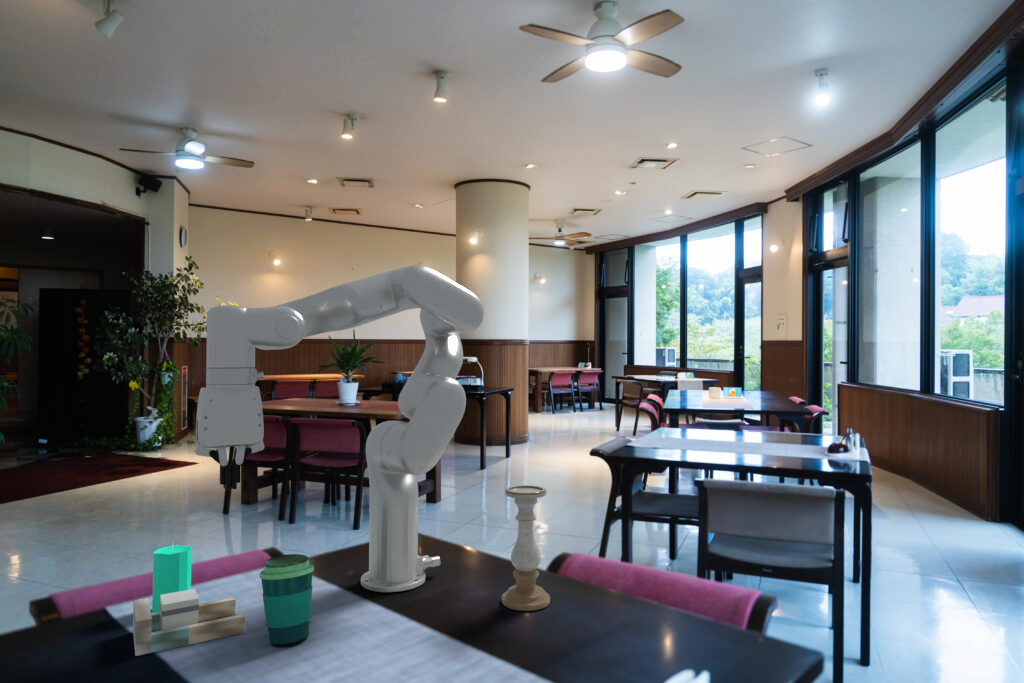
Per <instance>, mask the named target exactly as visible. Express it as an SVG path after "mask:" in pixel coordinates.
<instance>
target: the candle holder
mask: <svg viewBox="0 0 1024 683" xmlns="http://www.w3.org/2000/svg"><path fill="white" fill-rule="evenodd" d="M547 492H548V491H547V488H546V487H543V486H538V485H529V484H528V485H526V484H523V485H520V484H519V485H514V486H509V487H506V488H505V491H504V495H505V496H507V497H509V498H513V500H514V501H513V502H514V504H516V506H517V508H518V512H517V514H516V515H515V517H514V519H515V520H516V521H517V523H518V524H517V525H518V526H517V537H516V541H515V543H514V546H513V548H512V551H511V554H510V561H511V564H512V565H513V567H514V568H515V569H514V570H513V571H512V576H513V577H514V579H515V581H516V582H515V584H514V585H511V586H509V588H508V589H507V591H505V592H503V594H502V596H501V603H502V605H503V606H505V607H506V608H508V609H510V610H515V611H520V612H521V611H524V612H530V611H532V612H533V611H538V610H542V609H544V608H547V607H548V606H549V605H550V603H551V596H550V594H549V593H548V592H547V591H545V590H544V588H543V587H542V586H540V585H537V584H536V581H537V578H538V577H539V575H540V572H539V570H537V568H538V566H539V565H540V564H541V560H542V556H541V552H540V548H539V547H538V545H537V541H536V539H535V532H534V531H535V530H534V522H535V520H537V516H536V514H535V513H534V508H535V506H536V504H537V503H538V499H539V498H543V497H545V496H547V494H548V493H547Z"/></svg>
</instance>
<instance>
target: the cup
mask: <svg viewBox="0 0 1024 683" xmlns="http://www.w3.org/2000/svg"><path fill="white" fill-rule="evenodd" d="M263 567H264V568H263V570H261V571H260V572H259V579H261V585H262V602H263V608H264V617H265V623H266V624H265V625H266V628H267V635H268V642H269V643H270V645H271V646H273V647H276V648H288V647H289V648H290V647H294V646H297V645H300V644H303V643H304V641H306V640H307V639H308V636H309V631H310V620H311V617H312V616H311V615H312V613H311V612H312V601H313V600H312V598H313V584H312V583H313V572H314V571H315V566H314V564H312V563H310V559H309V557H308V556H307V555H304V554H298V553H295V554H282V555H277V556H273V557H270V558H269V559H267V560H266V561H265V563H264V566H263Z"/></svg>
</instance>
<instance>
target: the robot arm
mask: <svg viewBox="0 0 1024 683" xmlns="http://www.w3.org/2000/svg"><path fill="white" fill-rule="evenodd" d="M413 309H414V310H415V309H420V311H419V319H420V320H419V321H420V325H421V328H422V331H423V333H424V338H425V346H424V351H423V353H422V355H421V357H420V359H419V361H418V363H417V364H416V366H415V368H414V370H413V371H412V373H411V375H410V376H409V378H408V379H407V381H406V383H405V384H404V386H403V387H402V390H401V391H400V392H399V396H398V400H397V406H398V410H399V412H400V413H401V414H402V415H403V417H405V418H407V419H409V421H408V422H407V421H400V420H387V421H383V422H381V423H378V424H376V426H374V427H373V428H372V430H371V431H370V432H369V434H368V436H367V439H366V442H365V457H366V464H367V470H368V480H369V481H368V482H369V510H368V512H369V520H368V521H369V522H368V524H369V528H368V530H369V533H368V535H369V536H368V539H369V541H368V545H369V546H368V571H366V572H364V573H363V574H362V576H361V577H360V585H361V586H362V588H364V589H366V590H369V591H372V592H378V593H397V592H404V591H409V590H412V589H415V588H418V587H420V586H422V585H423V584H424V583H425V582H426V572H425V571H426V570H427V568H434V567H439V566H440V565H441V558H440V556H439V555H436V556H429V554H425V555H422V556H421V555H419V484H418V478H417V476H420V475H424V474H426V473H428V472H429V471H431V470H432V469H433V468H434V467H435V466H436V465H437V463H438V462H439V460H440V459H441V458H442V456H443V454H444V453H445V451H446V449H447V447H448V445H449V444H450V441H451V439H452V437H453V436H454V434H455V432H456V431H457V430H458V429H457V428H458V427H459V425H460V423H461V421H462V419H463V417H464V414H465V412H466V405H467V396H466V392H465V389H464V387H463V386H462V384H461V383H460V382H459V380H456V379H457V377H458V375H459V373H460V372H461V371H460V370H461V369H462V366H463V361H464V350H463V344H462V341H461V334H468V333H472V332H474V331H476V329H479V327H480V326H481V325H482V323H483V320H484V318H485V317H484V316H485V311H484V310H485V309H484V306H483V303H482V301H481V300H480V298H479V297H478V296H477V295H476V294H475V293H474V292H472V291H471V290H469V289H467V288H466V287H464V286H463V285H461V284H459V283H457V282H455V281H454V280H453V279H451V278H449V277H448V276H446V275H444V274H442V273H440V272H439V271H437V270H435V269H433V268H431V267H428V266H425V265H423V264H412V265H407V266H404V267H400V268H395V269H391V270H387V271H384V272H381V273H377V274H374V275H370V276H366V277H364V278H360V279H357V280H356V279H355V280H352V281H349V282H346V283H341V284H340V285H339V284H338V285H336V286H333V287H330V288H327V289H324V290H322V291H319V292H316V293H314V294H311V295H308V296H305V297H302V298H301V297H300V298H298V299H295V300H291V301H288V302H284V303H281V304H278V305H273V306H267V307H266V306H265V307H247V306H243V305H231V304H230V305H228V304H227V305H226V304H225V305H223V304H222V305H215V306H212V307H210V308H209V309H208V311H207V314H206V356H205V357H206V361H205V362H206V363H205V364H206V368H205V369H206V370H205V371H206V372H205V373H206V376H205V387H201V388H200V390H199V393H198V400H197V408H196V420H195V421H196V422H195V442H196V444H195V448H194V453H195V455H196V456H201V457H206V458H207V457H209V458H211V459H213V461H215V462H216V463H217V464H219V484H220V486H222V485H223V489H224V490H225V491H229V490H231V489H232V490H237V489H238V484H240V483H241V471H242V468H241V466H242V464H243V463H244V461H245V460H246V459H247V458H248V457H249V456H250V455H251V454H254V453H258V452H260V451H263V450H264V449H265V443H264V440H263V439H264V434H265V429H264V426H265V425H264V413H263V403H262V397H261V396H262V395H261V390H260V387H259V386H257V385H256V383H257V381H259V380H264V379H265V373H264V371H259V370H257V368H256V348H257V349H259V350H263V351H270V350H286V349H290V348H293V347H295V346H296V345H298V344H299V343H300V342H301V341H302V340H303V339H305V338H309V337H312V336H316V335H321V334H325V333H330V332H337V331H338V332H341V331H345V330H349V329H353V328H357V327H360V326H363V325H366V324H368V323H371V322H374V321H378V320H380V319H383V318H386V317H389V316H393V315H396V314H398V313H401V312H404V311H408V310H413ZM232 447H234V448H233V454H232V458H231V460H230V461H229V460H228V455H227V454H228V453H227V448H232Z"/></svg>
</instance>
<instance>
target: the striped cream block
mask: <svg viewBox="0 0 1024 683" xmlns="http://www.w3.org/2000/svg"><path fill="white" fill-rule="evenodd" d="M199 601H200V598H199V595H198V592H197V590H196V589H195V588H191V590H185V591H180V592H174V593H168V594H162V595H160V630H159V631H162V630H167V629H172V628H177V627H182V626H187V625H192V624H197V623H199V622H198V610H199V604H200V603H199Z"/></svg>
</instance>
